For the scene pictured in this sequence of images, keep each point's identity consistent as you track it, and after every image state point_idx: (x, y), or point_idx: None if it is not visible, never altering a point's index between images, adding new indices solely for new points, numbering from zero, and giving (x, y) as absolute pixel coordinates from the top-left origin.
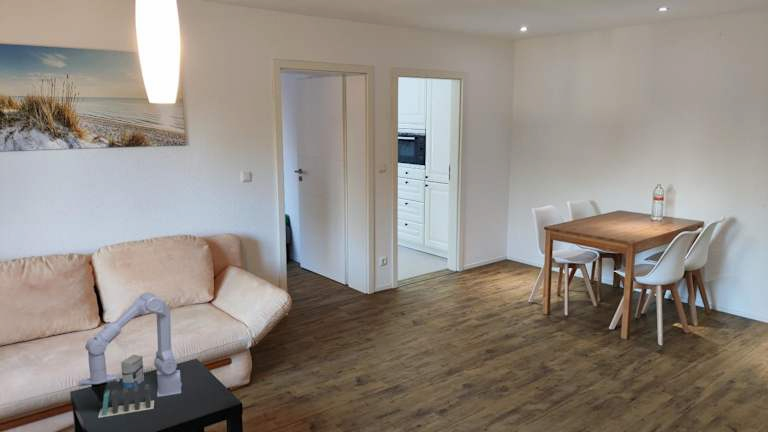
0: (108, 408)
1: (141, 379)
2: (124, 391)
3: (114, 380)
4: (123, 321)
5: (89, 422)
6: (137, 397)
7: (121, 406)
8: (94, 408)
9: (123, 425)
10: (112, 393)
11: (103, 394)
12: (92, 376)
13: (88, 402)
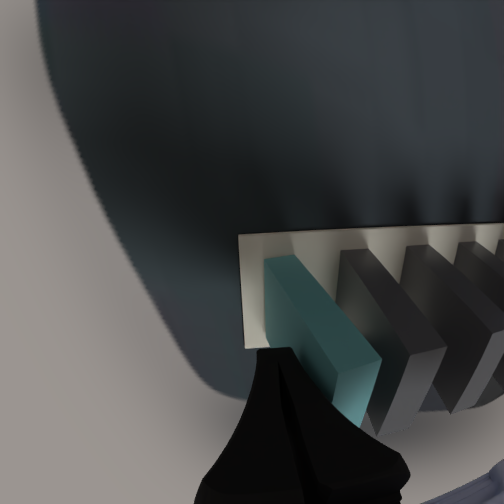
0: (299, 245)
1: None
2: (470, 393)
3: (465, 496)
4: None
5: (204, 372)
6: None
7: (384, 242)
8: (185, 201)
9: None
10: (390, 420)
11: (306, 380)
12: None
13: (112, 77)
